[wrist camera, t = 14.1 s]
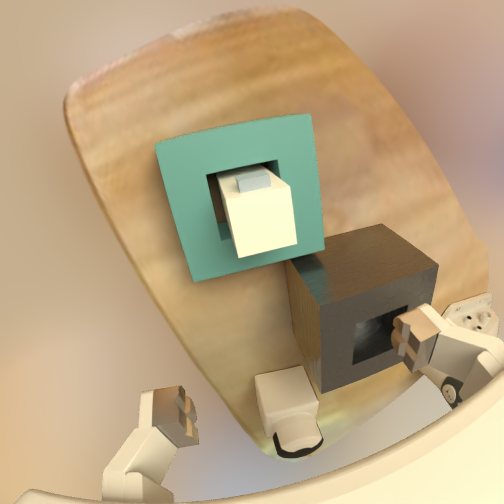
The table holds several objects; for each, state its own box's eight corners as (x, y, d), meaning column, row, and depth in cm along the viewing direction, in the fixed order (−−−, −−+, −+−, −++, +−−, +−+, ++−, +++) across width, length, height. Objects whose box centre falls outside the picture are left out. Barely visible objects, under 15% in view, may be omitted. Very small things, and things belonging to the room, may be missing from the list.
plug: (257, 155, 25) (288, 173, 17) (266, 204, 27) (297, 243, 19) (213, 164, 25) (223, 187, 17) (224, 214, 27) (238, 258, 19)
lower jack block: (294, 113, 24) (310, 113, 20) (309, 232, 29) (324, 249, 26) (160, 140, 23) (154, 144, 19) (193, 261, 28) (193, 282, 25)
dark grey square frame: (381, 223, 31) (438, 264, 22) (376, 305, 36) (416, 354, 27) (282, 248, 30) (319, 306, 21) (293, 332, 35) (321, 393, 26)
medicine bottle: (300, 391, 42) (325, 453, 31) (256, 401, 41) (274, 467, 30) (303, 363, 39) (333, 432, 28) (253, 374, 38) (273, 448, 27)
